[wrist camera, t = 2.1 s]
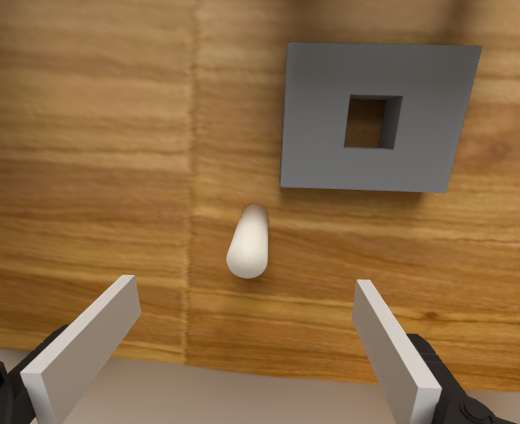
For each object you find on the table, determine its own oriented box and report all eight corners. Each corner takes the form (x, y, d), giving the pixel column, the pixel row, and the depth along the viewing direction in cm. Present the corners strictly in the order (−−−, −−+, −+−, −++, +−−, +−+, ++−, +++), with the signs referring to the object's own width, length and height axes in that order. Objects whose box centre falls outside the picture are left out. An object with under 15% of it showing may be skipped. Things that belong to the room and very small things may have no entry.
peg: (241, 229, 35) (226, 277, 23) (241, 203, 34) (226, 240, 22) (267, 230, 35) (266, 279, 23) (268, 204, 34) (268, 242, 22)
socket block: (279, 180, 33) (280, 186, 29) (285, 53, 28) (288, 42, 25) (424, 185, 32) (445, 192, 28) (453, 57, 28) (482, 45, 24)
